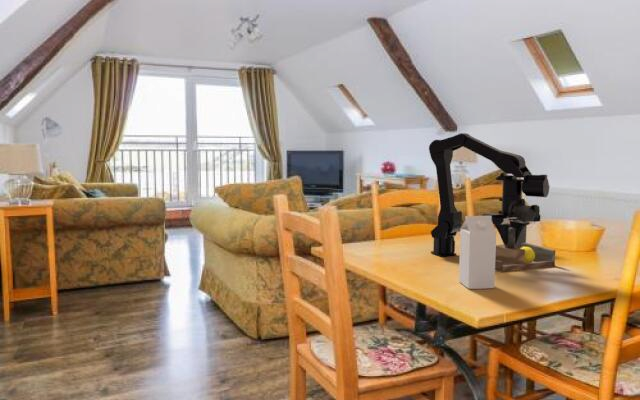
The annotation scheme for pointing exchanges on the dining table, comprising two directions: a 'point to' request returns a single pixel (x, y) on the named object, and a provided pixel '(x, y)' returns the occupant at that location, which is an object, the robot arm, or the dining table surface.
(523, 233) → the bottle
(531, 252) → the lemon
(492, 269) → the milk carton
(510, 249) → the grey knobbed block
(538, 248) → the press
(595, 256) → the dining table surface
